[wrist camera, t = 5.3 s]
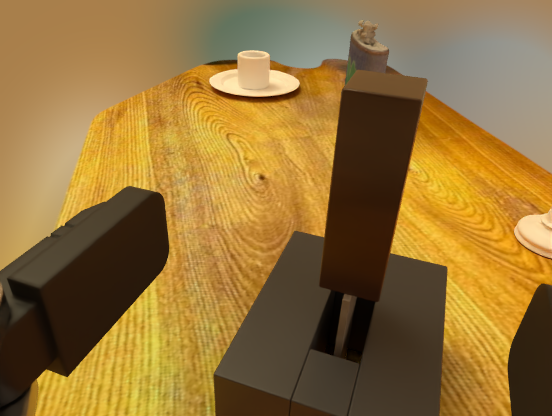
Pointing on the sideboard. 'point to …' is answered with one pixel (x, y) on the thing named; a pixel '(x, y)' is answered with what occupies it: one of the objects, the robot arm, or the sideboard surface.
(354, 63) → the flask
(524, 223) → the chess piece
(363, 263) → the knife
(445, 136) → the sideboard surface
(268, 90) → the candle holder
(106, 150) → the sideboard surface
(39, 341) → the robot arm
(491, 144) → the sideboard surface
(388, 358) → the knife block
